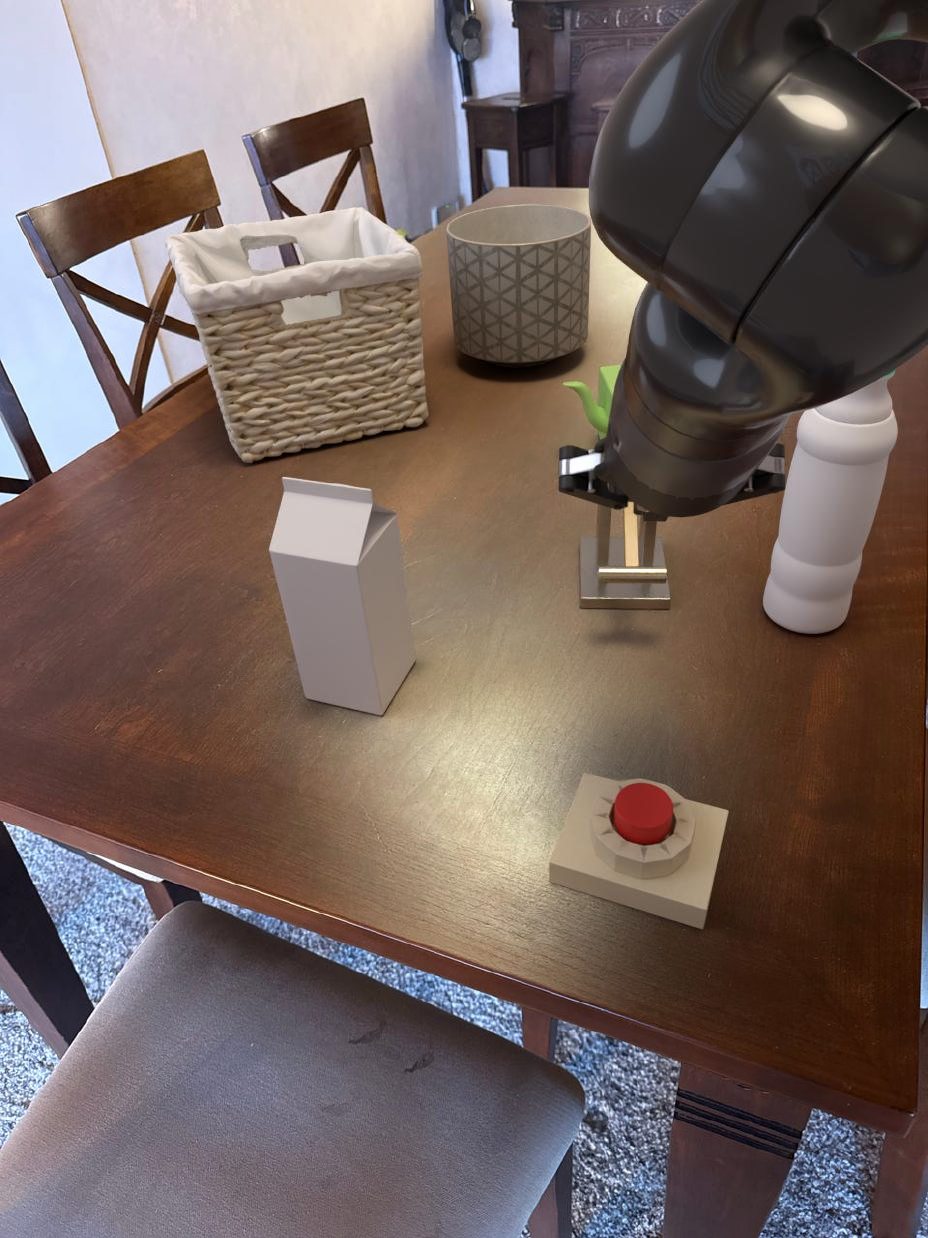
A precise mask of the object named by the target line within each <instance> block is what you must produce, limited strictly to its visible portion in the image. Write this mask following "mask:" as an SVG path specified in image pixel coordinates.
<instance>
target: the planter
mask: <svg viewBox="0 0 928 1238" xmlns="http://www.w3.org/2000/svg"><path fill="white" fill-rule="evenodd" d="M445 232H446V245H447V246H446V247H447V260H448V274H449V290H450V301H451V303H450V304H451V318H452V319H451V320H452V331H453V343H454V345H455V347H456V348H457V349H458V350H459V351H460V352H462V353H463V354H465V355H467V356H470V357H471V358H475V359H478V360H482V361H485V362H487V363H490V364H493V365H496V366H499V367H504V368H511V369H513V368H514V369H522V368H532V367H537V366H540V365H543V364H546V363H549V362H552V361H553V360H556V359H557V358H559V357H563V356H565V355H568V354H571V353H573V352H574V351H576V350H578V349H579V348H581V347H582V346H583V345H584V344H585V343H586V341H587V340H588V337H589V310H590V281H591V280H590V277H591V276H590V275H591V246H592V245H591V244H592V219H591V216H590V215H588V214H587V213H586V212H584V211H581V210H579V209H576V208H572V207H567V206H562V205H554V204H543V203H542V204H541V203H540V204H539V203H536V204H535V203H527V204H525V203H523V204H508V205H500V206H492V207H487V208H482V209H478V210H474V211H470V212H467V213H463V214H462V215H459V216H457V217H456V218H453V219H452V220H451V221H450V222H448V224H447V225H446V228H445Z"/></svg>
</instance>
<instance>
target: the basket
mask: <svg viewBox="0 0 928 1238" xmlns="http://www.w3.org/2000/svg"><path fill="white" fill-rule="evenodd" d="M164 241H165V247H166V250H167V251H166V252H167V255H168V259H169V261H170V262H171V264H172V268H173V270H174V273H175V278H176V279H175V280H176V282H177V285H178V288H179V294H180V295H182V297H183V298H184V301H186V305H187V306H188V308H189V309H190V312H191V316H192V318H193V321H194V327H195V328H196V330H197V334H198V336H199V342H200V344H201V345H200V346H201V350H202V351H203V356H204V359H205V361H206V365H207V372H208V375H209V376H210V380H211V384H212V386H213V390H214V392H215V397H216V399H217V403H218V406H219V408H220V409H219V410H220V413H221V414H222V418H223V421H224V426H225V430H226V431H227V436H228V439H229V442H230V445H231V446H232V448H233V449H234V451H235V453H236V454H237V455H238V457H239V458H240V460H242V462H243V463H246V464H252V463H253V462H257V461H260V460H263V459H264V458H265V457H279V456H281V455H282V454H283V453H298V452H301V450H302V449H318V448H320V447H321V446H322V445H325V444H338V443H342V442H343V441H354V440H357V439H361V438H362V437H363V436H364V435H365V436H372V435H376V434H379V433H382V432H383V431H384V432H387V431H396V430H397V431H399V430H402V429H403V428H404V426H405V427H406V428H416V427H419V426H421V425H423V424H424V422H425V421H426V420H427V418H429V410H428V403H427V402H428V401H427V397H426V395H427V393H426V392H427V389H426V385H425V383H426V381H425V377H426V371H425V369H424V366H425V364H424V363H425V362H424V358H425V356H424V342H423V338H422V336H421V335H422V334H423V333H422V332H423V327H422V325H423V323H422V319H421V315H422V312H421V298H420V297H421V292H420V278H421V277H423V272H422V271H423V262H422V257H421V253H420V251H419V250H418V249H417V247H416V246H415V245H413V244H411V243H410V242H408V241H407V240H406V238H405V237H404V236H402V235H401V234H399V233H398V232H397V231H396V229H394V228H392V227H391V226H389V224H386V223H385V222H383V221H382V220H381V219H379V218H378V217H377V216H375V215H373V214H372V213H371V212H370V211H368V210H366V209H365V208H364V207H363V206H358V207H357V206H355V207H354V206H353V207H349V208H343V209H334V210H327V211H322V212H320V213H311V214H307V215H300V216H299V215H297V216H292V217H286V218H283V219H273V220H269V221H267V220H266V221H264V220H263V221H261V220H259V221H254V222H247V221H246V222H240V223H237V224H234V223H230V224H229V223H228V224H225V225H223V226H221V227H218V228H206V229H199V230H198V231H190V232H182V233H179V234H178V233H177V234H176V233H175V234H173V233H172V234H170V235H167V236H166V238H165V240H164ZM286 244H287V245H288V244H296V245H298V247H299V248H298V249H299V250H300V253H301V255H302V256H301V257H303V258H302V259H303V263H301V264H297V265H296V264H294V265H289V266H287V267H279V268H278V267H276V268H273V269H261V270H260V269H253V268H252V267H251V264H250V263H249V258H250V255H249V251H250V250H251V251H253V250H261V249H263V248H264V249H265V248H269V247H277V246H283V245H286Z"/></svg>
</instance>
